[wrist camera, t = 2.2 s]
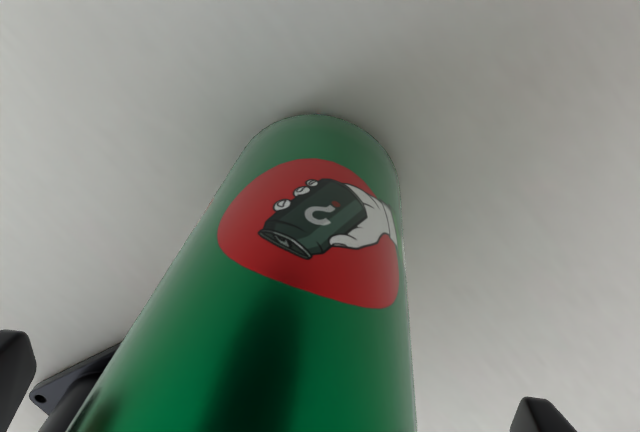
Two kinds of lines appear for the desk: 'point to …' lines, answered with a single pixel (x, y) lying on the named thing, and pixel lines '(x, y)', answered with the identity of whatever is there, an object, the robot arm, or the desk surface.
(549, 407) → the robot arm
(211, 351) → the soda can
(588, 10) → the desk surface
